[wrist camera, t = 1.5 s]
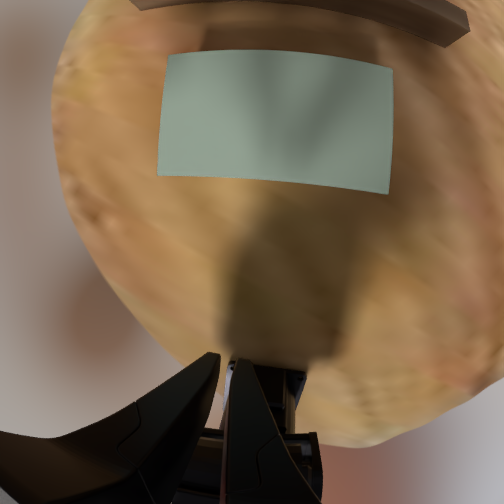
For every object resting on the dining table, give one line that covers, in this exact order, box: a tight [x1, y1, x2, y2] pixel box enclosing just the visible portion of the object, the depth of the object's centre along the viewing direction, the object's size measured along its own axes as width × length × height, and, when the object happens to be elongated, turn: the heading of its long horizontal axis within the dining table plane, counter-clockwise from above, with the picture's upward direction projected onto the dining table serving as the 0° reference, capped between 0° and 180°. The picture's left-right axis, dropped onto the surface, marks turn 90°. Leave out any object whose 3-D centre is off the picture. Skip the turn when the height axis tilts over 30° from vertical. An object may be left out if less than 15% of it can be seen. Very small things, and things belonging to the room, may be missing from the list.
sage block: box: [157, 50, 393, 195], centre depth 14 cm, size 7×12×4 cm, turn 86°
